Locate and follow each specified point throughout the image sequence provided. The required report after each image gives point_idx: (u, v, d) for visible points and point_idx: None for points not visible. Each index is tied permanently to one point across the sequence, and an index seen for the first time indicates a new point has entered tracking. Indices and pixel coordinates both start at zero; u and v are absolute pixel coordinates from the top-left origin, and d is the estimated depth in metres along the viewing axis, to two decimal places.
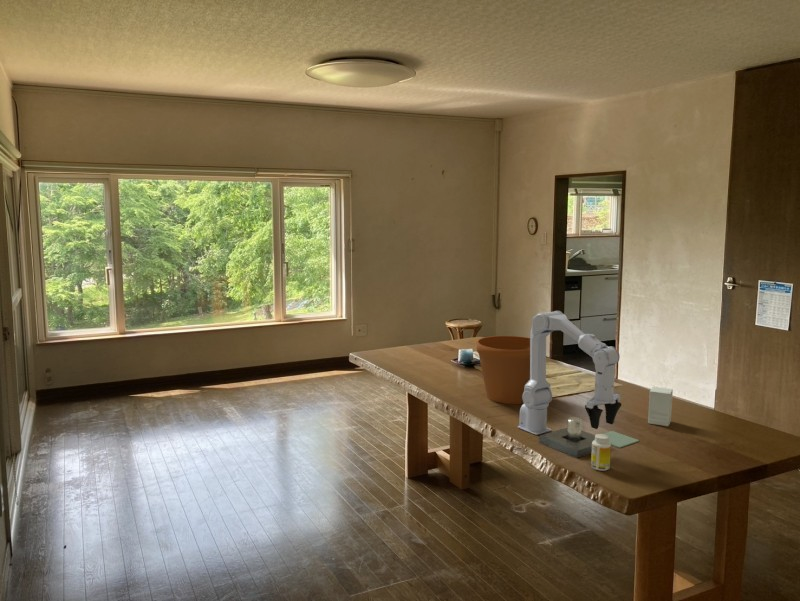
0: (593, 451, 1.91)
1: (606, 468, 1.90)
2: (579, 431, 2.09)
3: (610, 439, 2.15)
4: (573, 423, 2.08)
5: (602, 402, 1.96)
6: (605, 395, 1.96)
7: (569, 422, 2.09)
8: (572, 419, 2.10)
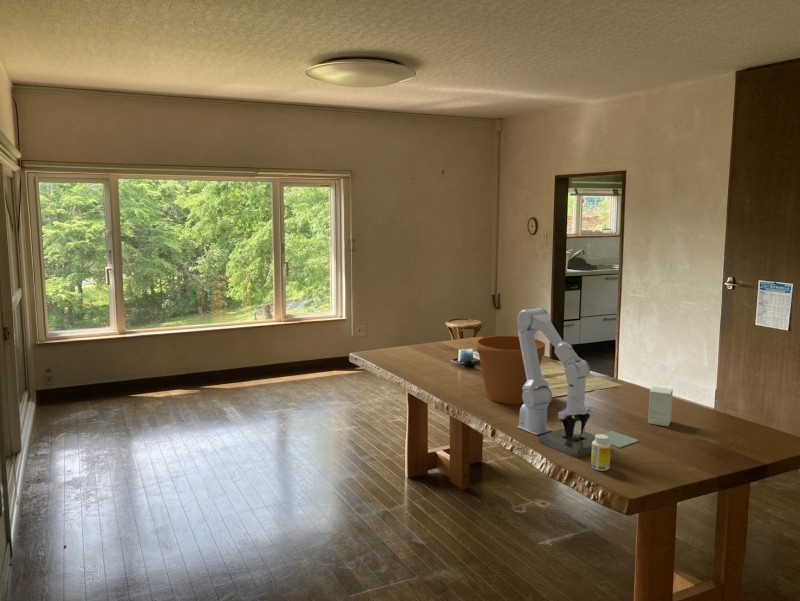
0: (593, 451, 1.91)
1: (606, 468, 1.90)
2: (579, 431, 2.09)
3: (610, 439, 2.15)
4: None
5: (573, 413, 2.06)
6: (576, 406, 2.06)
7: None
8: None
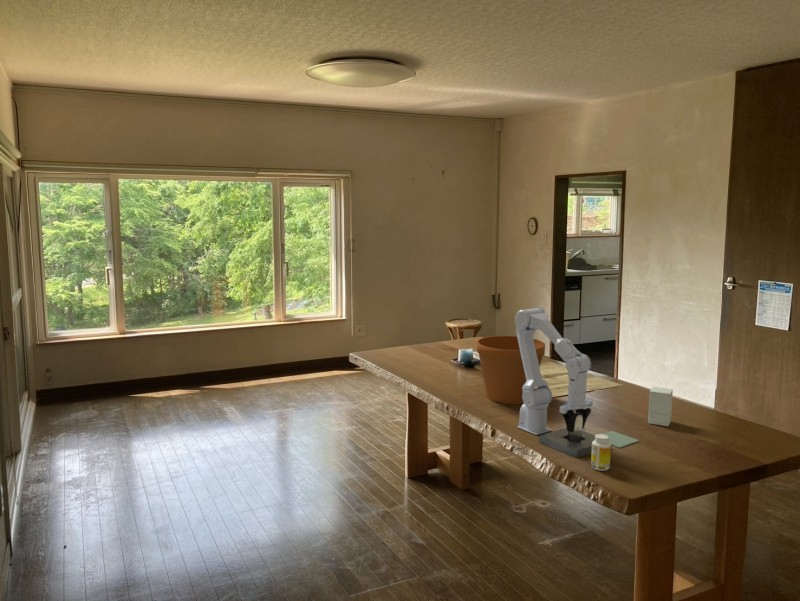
0: (593, 451, 1.91)
1: (606, 468, 1.90)
2: (580, 426, 2.08)
3: (610, 439, 2.15)
4: None
5: (574, 407, 2.05)
6: (577, 401, 2.06)
7: None
8: None
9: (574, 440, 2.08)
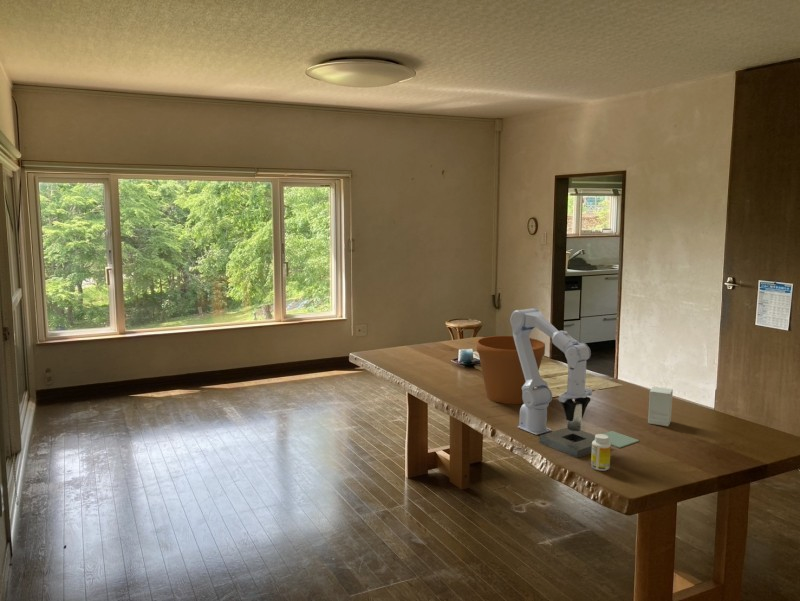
0: (593, 451, 1.91)
1: (606, 468, 1.90)
2: (580, 415, 2.08)
3: (610, 439, 2.15)
4: None
5: (574, 396, 2.05)
6: (577, 389, 2.05)
7: None
8: None
9: (573, 429, 2.08)
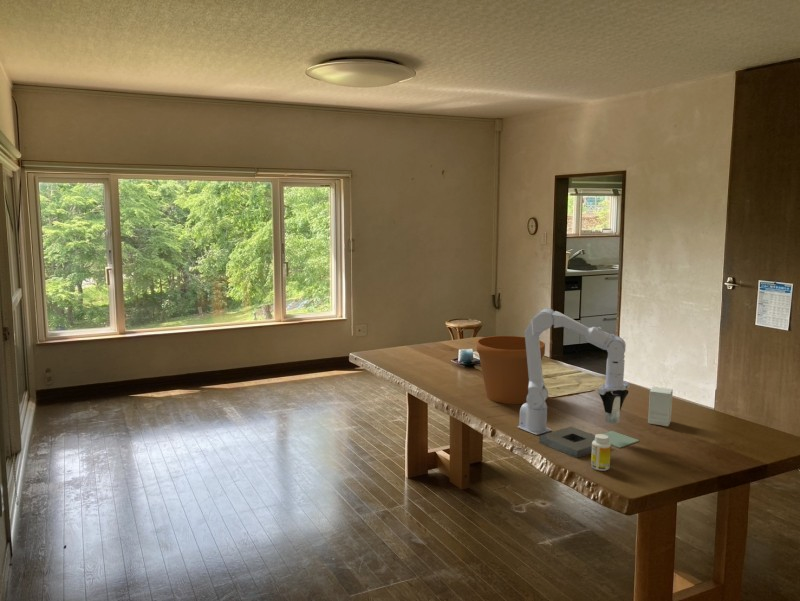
0: (593, 451, 1.91)
1: (606, 468, 1.90)
2: (618, 407, 2.12)
3: (610, 439, 2.15)
4: None
5: (613, 389, 2.09)
6: (615, 382, 2.10)
7: None
8: None
9: (612, 421, 2.12)
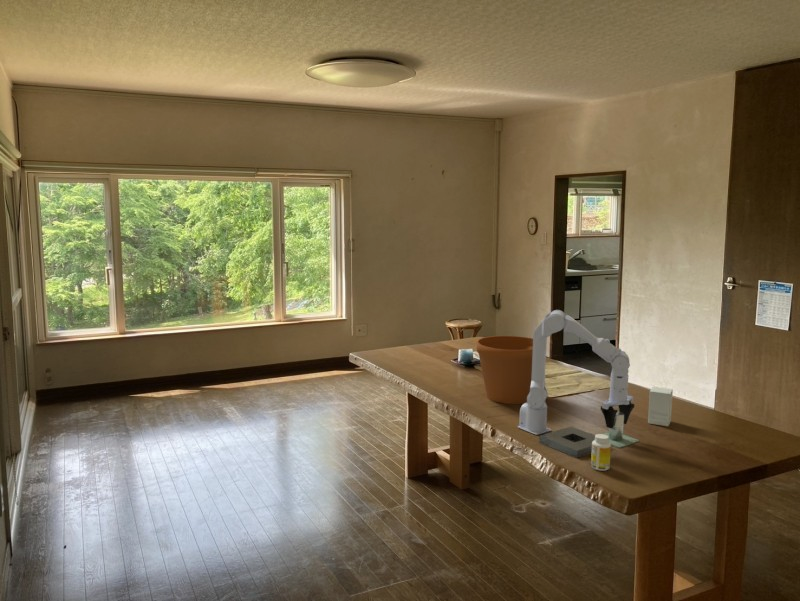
0: (593, 451, 1.91)
1: (606, 468, 1.90)
2: (622, 425, 2.13)
3: None
4: (616, 417, 2.13)
5: (617, 403, 2.11)
6: (619, 397, 2.11)
7: None
8: None
9: (616, 439, 2.14)
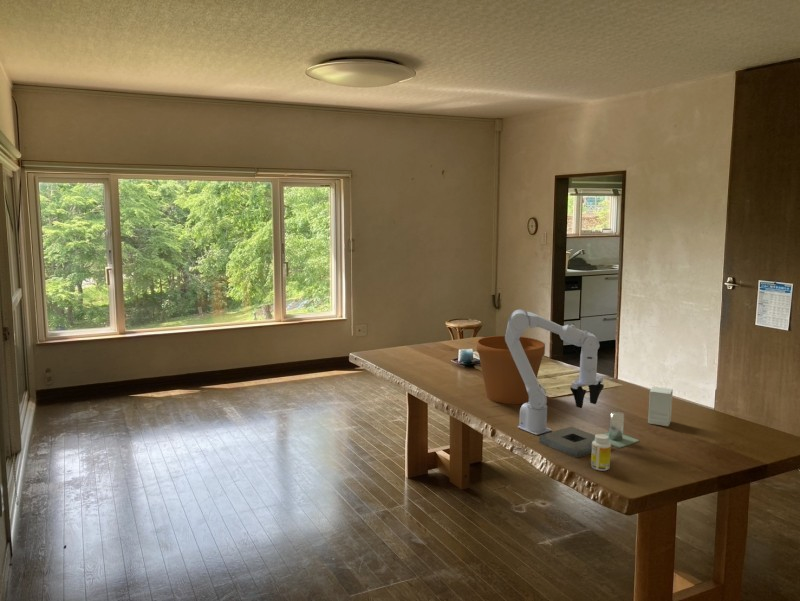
0: (593, 451, 1.91)
1: (606, 468, 1.90)
2: (622, 425, 2.13)
3: None
4: (616, 417, 2.13)
5: (586, 383, 2.16)
6: (588, 377, 2.16)
7: (612, 416, 2.14)
8: (615, 413, 2.14)
9: (616, 439, 2.14)
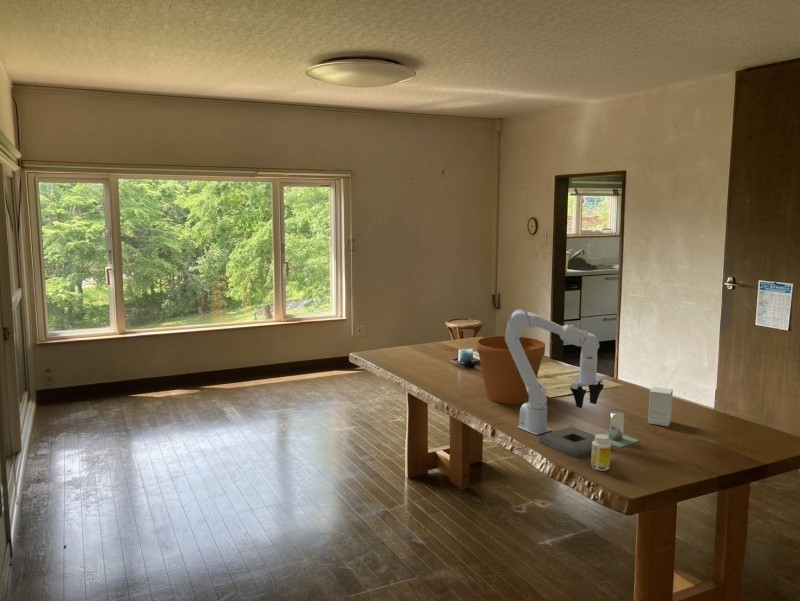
0: (593, 451, 1.91)
1: (606, 468, 1.90)
2: (622, 425, 2.13)
3: None
4: (616, 417, 2.13)
5: (586, 383, 2.16)
6: (588, 377, 2.16)
7: (612, 416, 2.14)
8: (615, 413, 2.14)
9: (616, 439, 2.14)
